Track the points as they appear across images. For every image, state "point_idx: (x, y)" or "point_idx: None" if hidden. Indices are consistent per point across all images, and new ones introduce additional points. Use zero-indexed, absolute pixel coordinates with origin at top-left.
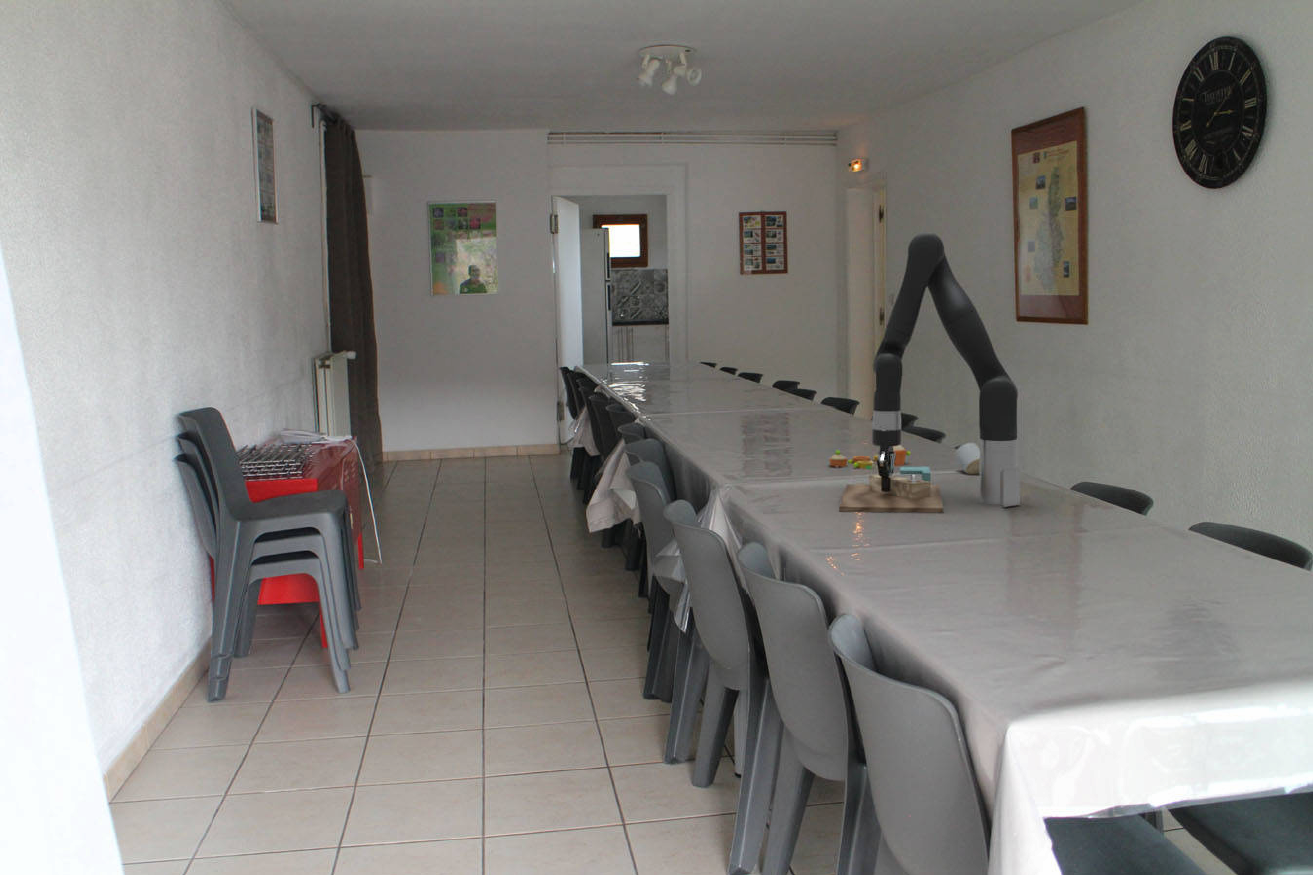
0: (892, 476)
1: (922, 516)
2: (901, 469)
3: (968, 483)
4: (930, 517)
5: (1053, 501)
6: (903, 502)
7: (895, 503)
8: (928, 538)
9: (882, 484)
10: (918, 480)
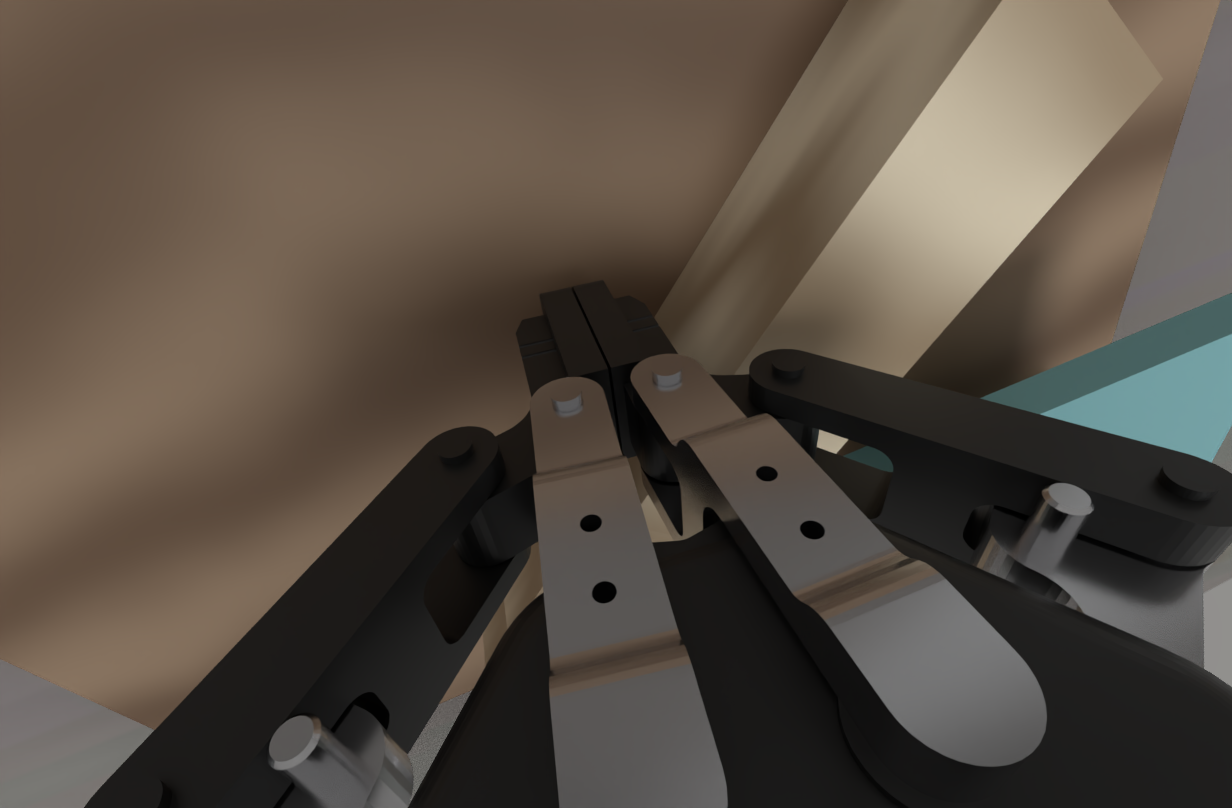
0: (937, 323)
1: (43, 750)
2: (1087, 403)
3: (1225, 450)
4: (60, 779)
5: None
6: (271, 578)
7: (166, 562)
8: None
9: (555, 340)
10: None
